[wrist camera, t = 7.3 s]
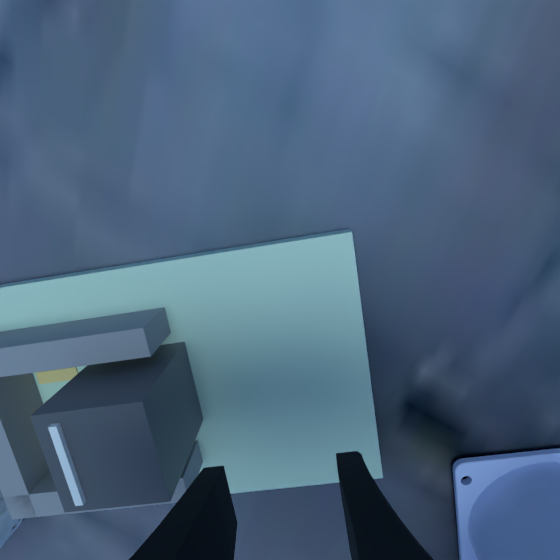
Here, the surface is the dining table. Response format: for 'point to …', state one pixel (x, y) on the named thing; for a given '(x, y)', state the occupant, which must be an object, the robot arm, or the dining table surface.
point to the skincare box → (6, 522)
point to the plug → (121, 431)
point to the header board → (203, 360)
